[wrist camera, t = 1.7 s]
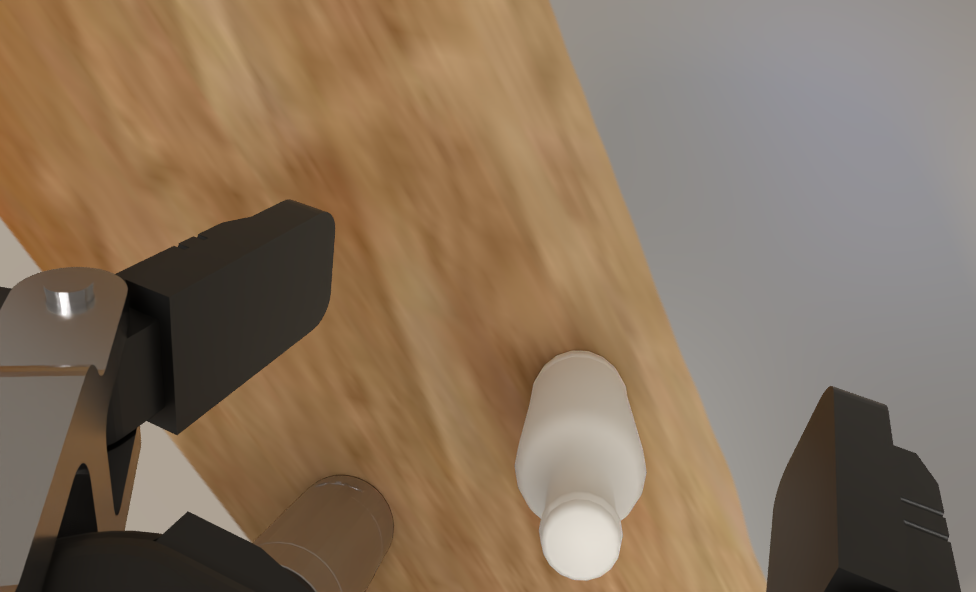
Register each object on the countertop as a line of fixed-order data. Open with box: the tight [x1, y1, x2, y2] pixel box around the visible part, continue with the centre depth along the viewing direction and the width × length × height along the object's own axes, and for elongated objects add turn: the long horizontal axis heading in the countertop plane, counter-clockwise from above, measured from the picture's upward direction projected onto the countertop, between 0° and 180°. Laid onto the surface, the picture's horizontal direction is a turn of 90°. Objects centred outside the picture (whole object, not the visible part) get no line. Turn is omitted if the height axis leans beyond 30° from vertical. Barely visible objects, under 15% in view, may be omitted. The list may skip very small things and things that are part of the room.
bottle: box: [515, 350, 646, 581], centre depth 48 cm, size 8×8×30 cm
